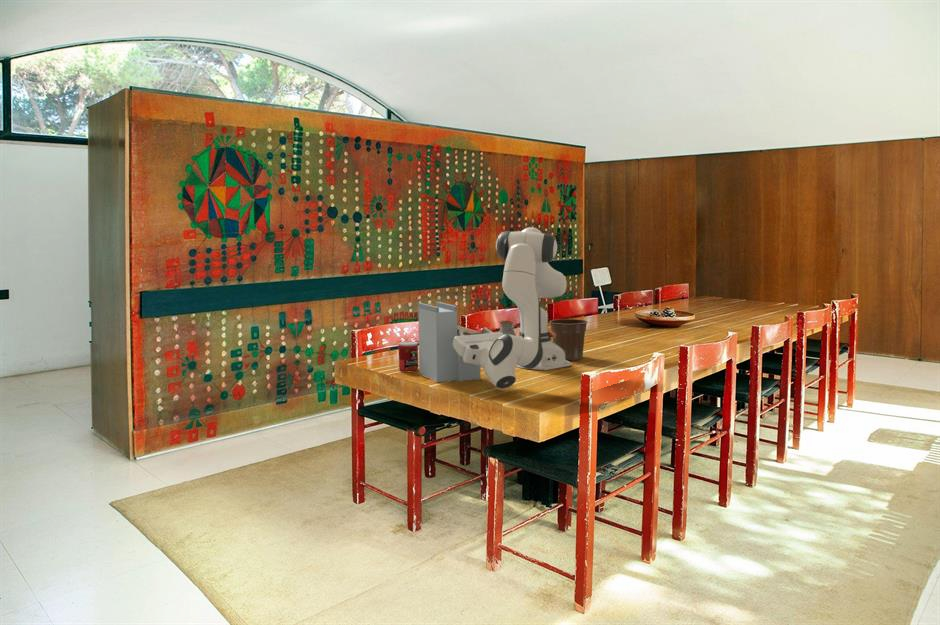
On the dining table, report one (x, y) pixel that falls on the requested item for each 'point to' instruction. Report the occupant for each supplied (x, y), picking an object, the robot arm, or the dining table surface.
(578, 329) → the plant pot
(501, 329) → the coffee pot
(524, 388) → the dining table surface
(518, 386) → the dining table surface
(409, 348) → the canned food
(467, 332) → the brown bar
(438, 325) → the step box
